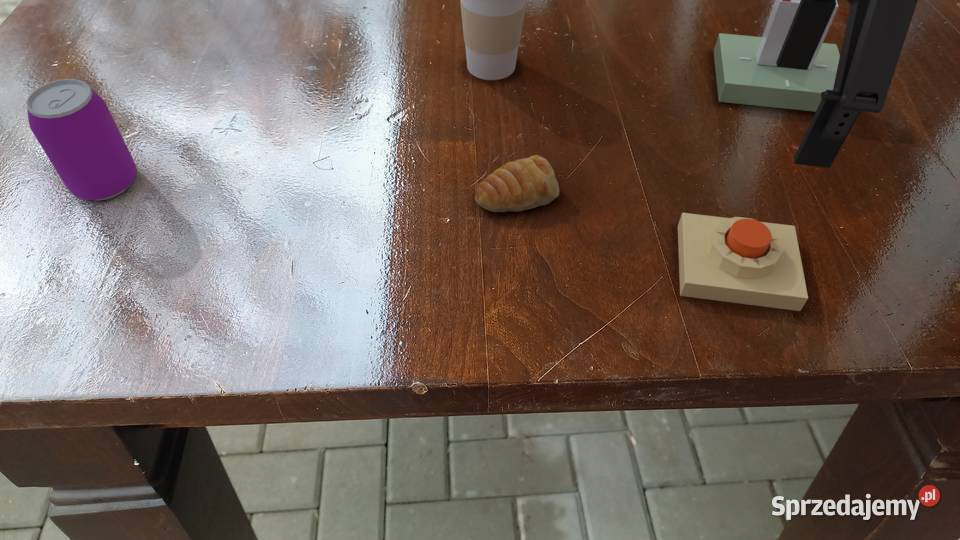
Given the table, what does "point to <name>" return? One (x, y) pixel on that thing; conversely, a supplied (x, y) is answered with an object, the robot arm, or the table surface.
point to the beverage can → (80, 139)
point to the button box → (739, 265)
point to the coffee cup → (492, 36)
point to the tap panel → (770, 76)
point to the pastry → (518, 186)
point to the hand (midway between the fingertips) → (800, 111)
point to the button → (749, 238)
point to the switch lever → (782, 32)
